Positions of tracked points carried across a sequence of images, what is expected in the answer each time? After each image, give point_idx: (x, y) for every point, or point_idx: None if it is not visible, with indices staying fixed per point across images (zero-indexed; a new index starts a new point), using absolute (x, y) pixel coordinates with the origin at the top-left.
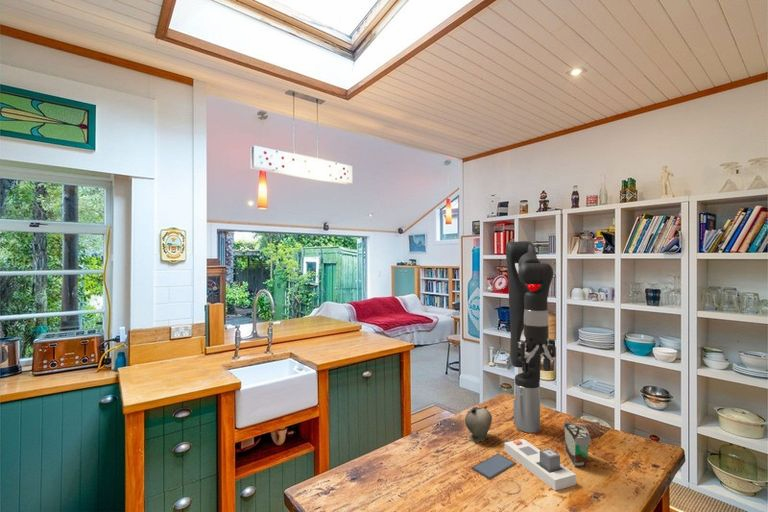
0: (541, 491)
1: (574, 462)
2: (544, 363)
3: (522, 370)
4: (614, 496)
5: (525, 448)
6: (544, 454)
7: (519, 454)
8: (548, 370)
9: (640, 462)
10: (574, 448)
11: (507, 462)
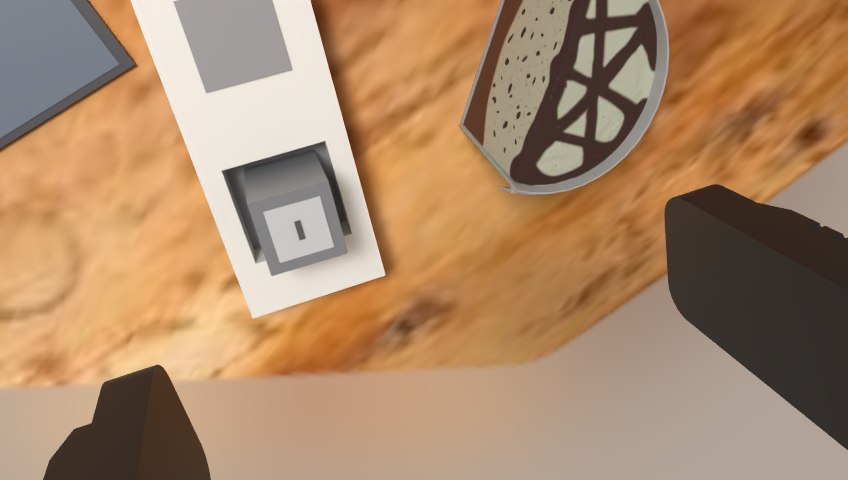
0: (180, 299)
1: (471, 119)
2: (761, 279)
3: (62, 452)
4: (481, 323)
5: (227, 8)
6: (259, 239)
7: (156, 65)
8: (685, 310)
9: (779, 106)
10: (498, 141)
11: (73, 57)
